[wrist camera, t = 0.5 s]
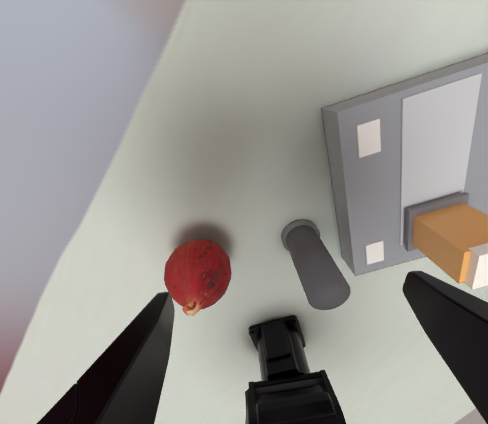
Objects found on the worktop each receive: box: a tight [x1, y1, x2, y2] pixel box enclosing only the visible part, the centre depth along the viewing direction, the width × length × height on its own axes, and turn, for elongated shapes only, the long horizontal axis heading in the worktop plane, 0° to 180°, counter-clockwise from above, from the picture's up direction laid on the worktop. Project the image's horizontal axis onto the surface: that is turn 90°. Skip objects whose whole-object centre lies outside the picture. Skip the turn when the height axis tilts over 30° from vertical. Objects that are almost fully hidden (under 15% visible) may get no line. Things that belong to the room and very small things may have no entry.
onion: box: [164, 240, 231, 316], centre depth 21 cm, size 6×6×8 cm
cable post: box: [282, 220, 350, 310], centre depth 21 cm, size 4×4×8 cm
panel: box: [322, 53, 488, 276], centre depth 21 cm, size 16×14×3 cm
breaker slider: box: [405, 192, 488, 289], centre depth 18 cm, size 4×5×6 cm
